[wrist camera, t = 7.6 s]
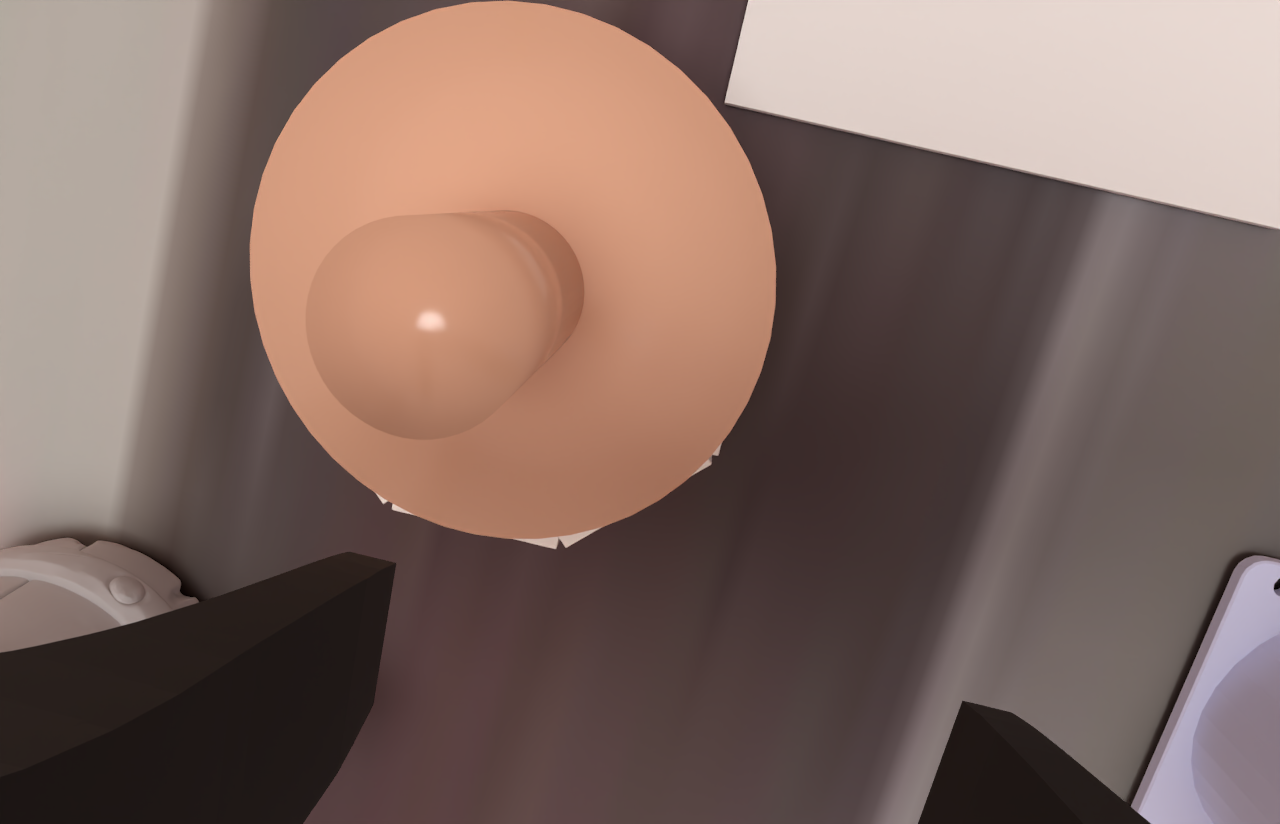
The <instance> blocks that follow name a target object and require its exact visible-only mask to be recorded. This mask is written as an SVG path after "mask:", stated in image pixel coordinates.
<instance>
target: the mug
mask: <svg viewBox="0 0 1280 824" xmlns="http://www.w3.org/2000/svg"><path fill="white" fill-rule="evenodd" d="M180 587H181V581H180V579H179V578H178V577H176V576H175V575H174V574H173V573H172V572H170V571H169V570H168V569H166V568H165V567H164V566H162V565H161V564H159V563H157V562H156V561H154V560H153V559H151V558H150V557H148V556H146V555H144V554H142V553H140V552H138V551H135V550H132V549H130V548H128V547H126V546H123V545H121V544H118V543H113V542H108V541H100V540H99V541H96V542H94V543H93V544H92V545H90V546H88V547H87V546H85V545H83V544H81V543H80V542H79V541H77V540H75V539H72V538H60V539H54V540H49V541H45V542H41V543H38V544H35V545H23V546H16V547H10V548H6V549H2V550H0V653H1V652H7V651H13V650H18V649H23V648H28V647H33V646H38V645H43V644H47V643H52V642H56V641H61V640H65V639H70V638H74V637H79V636H83V635H88V634H92V633H96V632H100V631H104V630H108V629H111V628H115V627H119V626H123V625H126V624H130V623H134V622H138V621H141V620H144V619H147V618H150V617H154V616H157V615H160V614H163V613H167V612H170V611H173V610H176V609H179V608H183V607H186V606H189V605H192V604H196V603H199V601H198V600H197V598H196V597H188V596H184V595H183V594H181V592H180Z"/></svg>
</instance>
